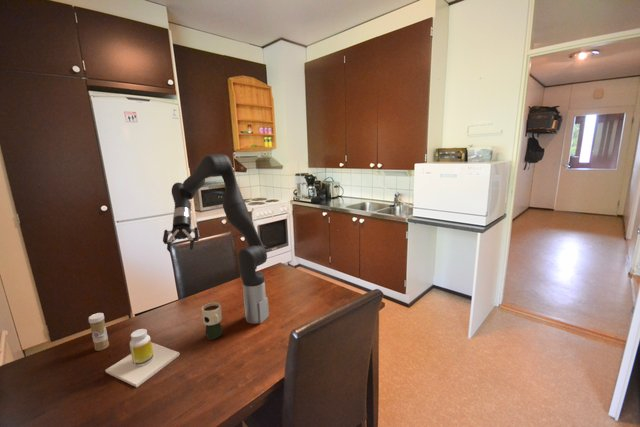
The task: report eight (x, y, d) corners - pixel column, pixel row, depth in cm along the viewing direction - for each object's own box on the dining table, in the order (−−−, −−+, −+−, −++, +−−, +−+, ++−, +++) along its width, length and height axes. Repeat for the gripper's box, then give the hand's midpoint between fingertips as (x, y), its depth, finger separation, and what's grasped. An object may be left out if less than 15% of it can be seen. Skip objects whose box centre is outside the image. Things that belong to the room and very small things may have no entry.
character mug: (200, 333, 117) (196, 304, 114) (217, 326, 122) (214, 298, 119) (211, 346, 109) (207, 315, 106) (228, 338, 114) (226, 308, 111)
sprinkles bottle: (93, 352, 107) (86, 320, 104) (96, 345, 111) (90, 314, 108) (108, 349, 109) (101, 317, 106) (110, 342, 113) (104, 311, 110)
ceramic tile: (179, 355, 105) (179, 352, 104) (136, 387, 90) (136, 384, 90) (150, 343, 111) (149, 341, 111) (105, 372, 97) (105, 370, 97)
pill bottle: (157, 356, 103) (153, 329, 100) (142, 368, 97) (137, 339, 95) (144, 353, 105) (140, 325, 102) (128, 364, 99) (123, 336, 97)
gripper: (163, 215, 129) (160, 248, 120) (197, 213, 133) (196, 244, 124) (167, 224, 135) (164, 255, 127) (199, 222, 139) (199, 252, 130)
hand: (180, 250), depth 125 cm, fingers open, 8 cm apart
